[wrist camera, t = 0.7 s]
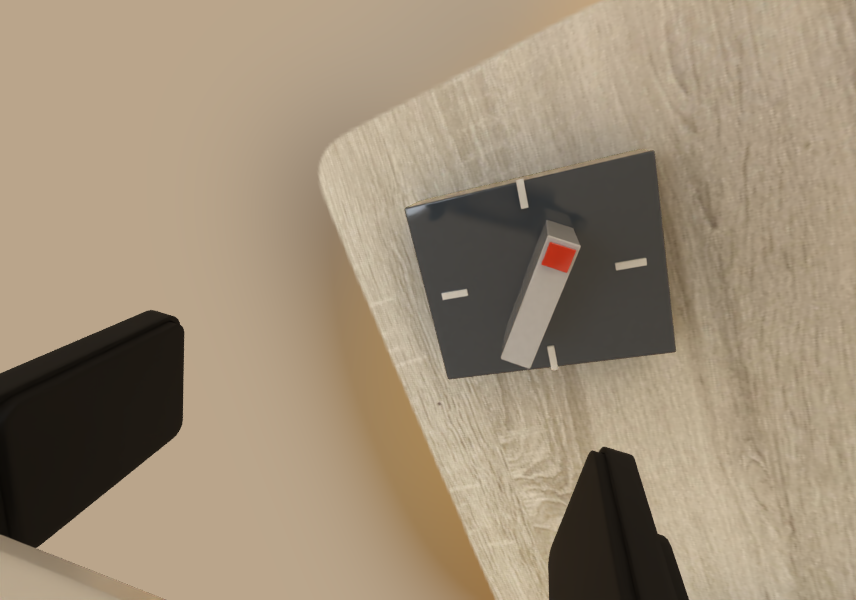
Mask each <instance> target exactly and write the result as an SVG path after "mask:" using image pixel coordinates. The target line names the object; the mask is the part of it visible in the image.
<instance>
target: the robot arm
mask: <svg viewBox="0 0 856 600" xmlns="http://www.w3.org/2000/svg"><path fill="white" fill-rule="evenodd" d="M183 368H184V329H183V327H182V326H181V325H180V322H179V320H178V319H177V318H176V317H174V316H171V315H167V314H164V313H161V312H158V311H153V310H150V311H146V312H143V313H141V314H139V315H136V316H134V317H132V318H129V319H127V320H125V321H122V322H120V323H118V324H115V325H113V326H111V327H108V328H106V329H103V330H102V331H99V332H97V333H94V334H92V335H89V336H87V337H85V338H82V339H80V340H78V341H75V342H73V343H71V344H69V345H66V346H64V347H61V348H59V349H57V350H54V351H52V352H50V353H47V354H45V355H43V356H40V357H38V358H35V359H33V360H31V361H28V362H26V363H24V364H21V365H19V366H17V367H14V368H12V369H10V370H7V371H5V372H3V373H0V600H165V599H163V598H160V597H158V596H155V595H153V594H150V593H148V592H145V591H143V590H140V589H137V588H135V587H133V586H130V585H128V584H125V583H123V582H120V581H117V580H115V579H112V578H110V577H107V576H105V575H102V574H100V573H97V572H95V571H92V570H90V569H87V568H85V567H82V566H79V565H77V564H74V563H72V562H69V561H66V560H64V559H62V558H59V557H57V556H54V555H51V554H49V553H46V552H43V551H41V550H39V549H36V548H37V547H38V546H40V545H41V544H42V543H44V542H45V541H46V540H47V539H48V538H50V537H51V536H52V535H53V534H55V533H56V532H57V531H58V530H59V529H61V528H62V527H63V526H65V525H66V524H67V523H68V522H70V521H71V520H72V519H73V518H75V517H76V516H77V515H78V514H79V513H80V512H82V511H83V510H85V508H87V507H88V506H89V505H91V504H92V503H93V502H94V501H96V500H97V499H98V498H99V497H100V496H102V495H103V494H104V493H106V492H107V491H108V490H109V489H111V488H112V487H113V486H114V485H116V484H117V483H118V482H119V481H121V480H122V479H123V478H124V477H126V476H127V475H128V474H129V473H130V472H131V471H133V470H134V469H135V468H137V467H138V466H139V465H140V464H142V463H143V462H144V461H145V460H146V459H147V458H149V457H150V456H152V455H153V454H154V453H155V452H156V451H158V450H159V449H160V448H161V447H163V446H164V445H165V444H167V442H169V441H170V440H171V439H173V438H174V437H175V436H176V435H177V433H178V432H179V430H180V428H181V426H182V421H183V371H184V369H183ZM548 571H549V600H689V599H688V596H687V592H686V589H685V586H684V583H683V580H682V577H681V574H680V571H679V568H678V565H677V562H676V559H675V556H674V553H673V550H672V547H671V545H670V543H669V541H668V539H667V538H665V537H664V536H663V535H660V534H657V530H656V527H655V524H654V521H653V517H652V514H651V511H650V508H649V504H648V501H647V498H646V495H645V491H644V488H643V485H642V482H641V478H640V475H639V472H638V469H637V465H636V462H635V459H634V457H633V456H632V455H630V454H627V453H623V452H620V451H617V450H614V449H610V448H607V447H602V448H601V450H600V451H599V452H595V451H591V452H590V453H589V455H588V457H587V459H586V462H585V464H584V467H583V469H582V472H581V474H580V477H579V479H578V482H577V484H576V487H575V489H574V492H573V494H572V497H571V499H570V502H569V504H568V507H567V509H566V512H565V514H564V517H563V519H562V522H561V524H560V527H559V529H558V532H557V534H556V537H555V539H554V542H553V544H552V547H551V550H550V555H549V562H548Z"/></svg>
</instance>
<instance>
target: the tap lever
mask: <svg viewBox="0 0 856 600" xmlns="http://www.w3.org/2000/svg"><path fill="white" fill-rule="evenodd" d="M580 248H581V245H580V243H579V240H578V238H577V235H576V233H575V230H574V229H573V228H571V227H568V226H565V225H562V224H559V223H556V222H552V221H549V220H546V222H545V224H544V227H543V230H542V232H541V235H540V237H539V240H538V243H537V245H536V248H535V251H534V253H533V256H532V259H531V261H530V264H529V267H528V269H527V272H526V275H525V277H524V280H523V282H522V285H521V288H520V290H519V293H518V296H517V298H516V301H515V304H514V306H513V309H512V312H511V314H510V317H509V320H508V322H507V325H506V330H505V336H504V342H503V348H502V354H501V359H503V360H505V361H508V362H511V363H514V364H517V365H520V366H522V367H525V368H528V369H530V368H531V365H532V363H533V361H534V358H535V356H536V353H537V351H538V349H539V346H540V344H541V341H542V339H543V337H544V334H545V332H546V329H547V327H548V325H549V322H550V320H551V317H552V315H553V313H554V310H555V308H556V305H557V303H558V301H559V298H560V296H561V293H562V291H563V289H564V286H565V284H566V281H567V279H568V276H569V274H570V272H571V269H572V267H573V264H574V262H575V260H576V257H577V255H578V252H579V250H580Z"/></svg>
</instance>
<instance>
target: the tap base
mask: <svg viewBox="0 0 856 600" xmlns="http://www.w3.org/2000/svg"><path fill="white" fill-rule="evenodd" d="M405 213H406V217H407V221H408V225H409V229H410V233H411V237H412V241H413V245H414V249H415V252H416V256H417V260H418V264H419V268H420V272H421V276H422V280H423V284H424V288H425V291H426V295H427V299H428V303H429V307H430V311H431V315H432V319H433V323H434V327H435V330H436V334H437V338H438V342H439V346H440V350H441V354H442V358H443V362H444V366H445V369H446V373H447V377H448V379H456V378H464V377H473V376H481V375H489V374H498V373H506V372H514V371H523V370H531V369H539V368H548V367H551V370H552V371H553V370H558V366H564V365H572V364H581V363H589V362H597V361H606V360H614V359H622V358H631V357H639V356H647V355H656V354H664V353H672V352H676V346H675V336H674V327H673V318H672V308H671V299H670V289H669V280H668V271H667V261H666V252H665V243H664V233H663V224H662V215H661V205H660V196H659V187H658V177H657V168H656V159H655V151H654V150H645V149H637V150H633V151H629V152H624V153H620V154H616V155H612V156H607V157H603V158H599V159H595V160H590V161H586V162H582V163H578V164H573V165H569V166H565V167H561V168H556V169H552V170H548V171H544V172H539V173H535V174H531V175H527V176H522V177H518V178H514V179H510V180H506V181H501V182H497V183H493V184H489V185H484V186H480V187H476V188H472V189H467V190H463V191H459V192H455V193H450V194H446V195H442V196H438V197H433V198H429V199H425V200H421V201H418V202H416V203H414V204H412V205H410V206H408V207H406V208H405ZM546 220H549V221H552V222H556V223H559V224H562V225H565V226H568V227H571V228H573V229H574V230H575V233H576V235H577V238H578V240H579V243H580V245H581V248H580V250H579V252H578V255H577V257H576V260H575V262H574V264H573V267H572V269H571V272H570V274H569V276H568V279H567V281H566V284H565V286H564V289H563V291H562V293H561V296H560V298H559V301H558V303H557V305H556V308H555V310H554V313H553V315H552V317H551V320H550V322H549V325H548V327H547V329H546V332H545V334H544V337H543V339H542V341H541V344H540V346H539V349H538V351H537V353H536V356H535V358H534V361H533V363H532V365H531V368H530V369H528V368H525V367H522V366H520V365H517V364H514V363H511V362H508V361H505V360H503V359H501V354H502V348H503V342H504V336H505V330H506V325H507V322H508V320H509V317H510V314H511V312H512V309H513V306H514V304H515V301H516V298H517V296H518V293H519V290H520V288H521V285H522V282H523V280H524V277H525V275H526V272H527V269H528V267H529V264H530V261H531V259H532V256H533V253H534V251H535V248H536V245H537V243H538V240H539V237H540V235H541V232H542V230H543V227H544V224H545V222H546Z"/></svg>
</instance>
